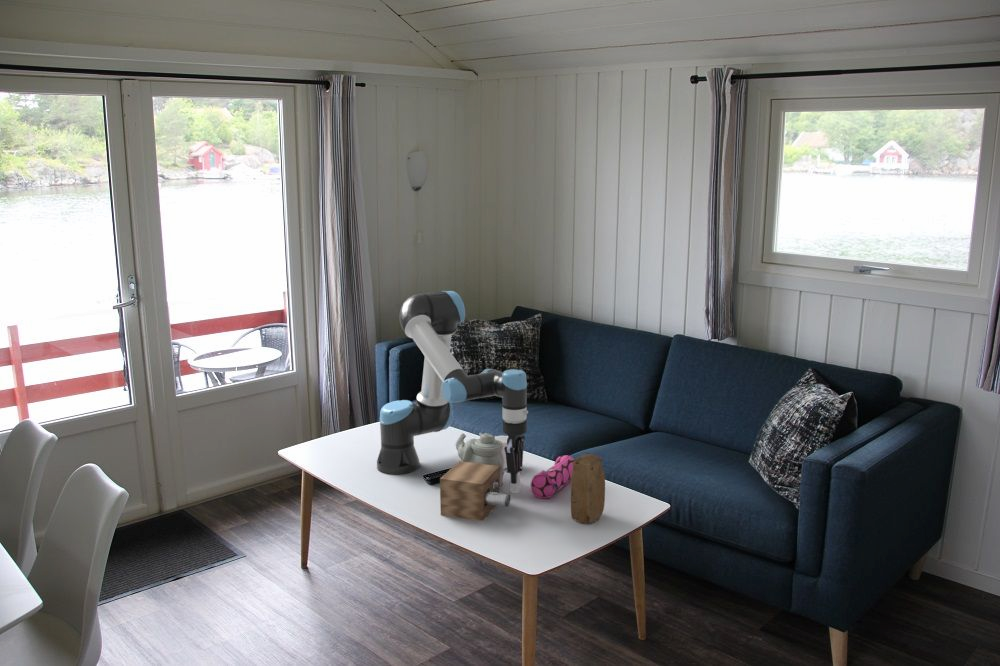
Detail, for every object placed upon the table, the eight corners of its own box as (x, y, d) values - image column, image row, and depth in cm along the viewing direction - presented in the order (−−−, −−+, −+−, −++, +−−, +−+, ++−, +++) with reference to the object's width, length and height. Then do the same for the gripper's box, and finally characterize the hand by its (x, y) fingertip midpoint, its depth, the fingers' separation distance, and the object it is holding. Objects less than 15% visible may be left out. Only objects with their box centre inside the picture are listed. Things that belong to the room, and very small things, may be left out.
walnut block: (440, 514, 269) (439, 478, 266) (459, 495, 283) (459, 461, 281) (482, 520, 264) (482, 484, 262) (500, 501, 279) (499, 466, 276)
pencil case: (557, 503, 277) (557, 473, 275) (529, 498, 282) (529, 469, 279) (580, 480, 296) (580, 452, 294) (554, 476, 300) (554, 448, 298)
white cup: (513, 462, 314) (513, 435, 312) (512, 469, 306) (512, 443, 304) (492, 461, 314) (492, 435, 312) (490, 469, 307) (489, 442, 305)
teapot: (455, 476, 301) (454, 424, 297) (498, 473, 303) (498, 421, 299) (461, 494, 285) (460, 440, 281) (506, 490, 287) (506, 437, 283)
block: (588, 527, 259) (589, 464, 255) (567, 520, 264) (568, 458, 260) (608, 515, 268) (609, 454, 263) (588, 509, 272) (589, 449, 268)
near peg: (463, 502, 268) (463, 491, 267) (468, 498, 271) (468, 486, 270) (506, 508, 263) (506, 497, 262) (510, 504, 266) (510, 492, 266)
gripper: (519, 427, 260) (519, 500, 264) (532, 415, 272) (532, 485, 276) (496, 424, 262) (496, 497, 267) (510, 412, 274) (510, 482, 279)
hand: (515, 491), depth 272 cm, fingers closed
